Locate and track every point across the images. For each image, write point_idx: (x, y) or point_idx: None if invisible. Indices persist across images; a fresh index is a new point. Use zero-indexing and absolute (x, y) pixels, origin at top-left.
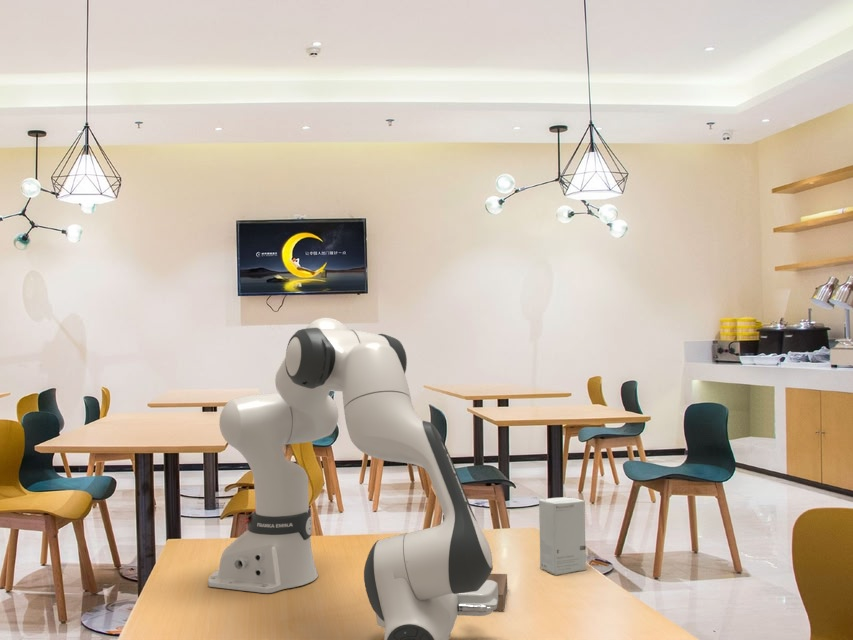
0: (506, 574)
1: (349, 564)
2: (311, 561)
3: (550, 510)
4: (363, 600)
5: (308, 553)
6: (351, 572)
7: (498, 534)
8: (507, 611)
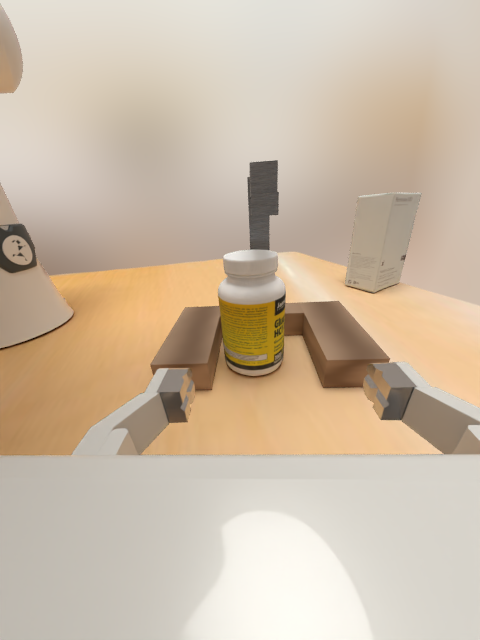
0: (338, 301)
1: (125, 297)
2: (45, 302)
3: (383, 206)
4: (105, 370)
5: (32, 292)
6: (120, 308)
7: None
8: None
